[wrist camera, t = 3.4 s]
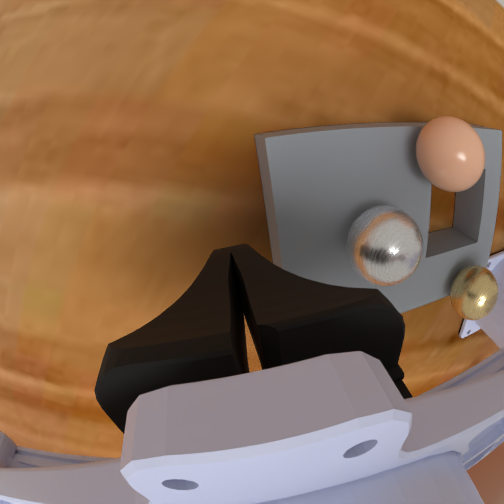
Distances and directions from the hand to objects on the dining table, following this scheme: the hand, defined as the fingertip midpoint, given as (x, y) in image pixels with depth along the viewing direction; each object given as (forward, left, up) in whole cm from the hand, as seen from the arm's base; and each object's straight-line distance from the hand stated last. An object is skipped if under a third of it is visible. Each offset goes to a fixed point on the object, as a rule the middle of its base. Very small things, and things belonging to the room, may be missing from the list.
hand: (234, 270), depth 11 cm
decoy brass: (-13, +4, +1) cm, 14 cm away
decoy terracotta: (-9, -4, +1) cm, 10 cm away
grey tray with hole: (-9, 0, -3) cm, 10 cm away
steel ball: (-6, 0, +1) cm, 6 cm away
